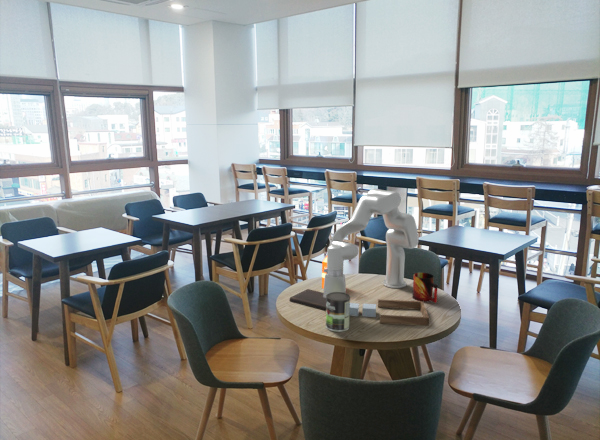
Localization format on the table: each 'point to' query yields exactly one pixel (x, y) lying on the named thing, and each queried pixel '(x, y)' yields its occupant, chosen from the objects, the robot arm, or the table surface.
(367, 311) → the tile
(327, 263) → the robot arm
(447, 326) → the table surface
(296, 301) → the hardcover book
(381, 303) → the frame
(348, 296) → the coffee can
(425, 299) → the mug
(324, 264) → the orange juice
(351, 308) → the tile
